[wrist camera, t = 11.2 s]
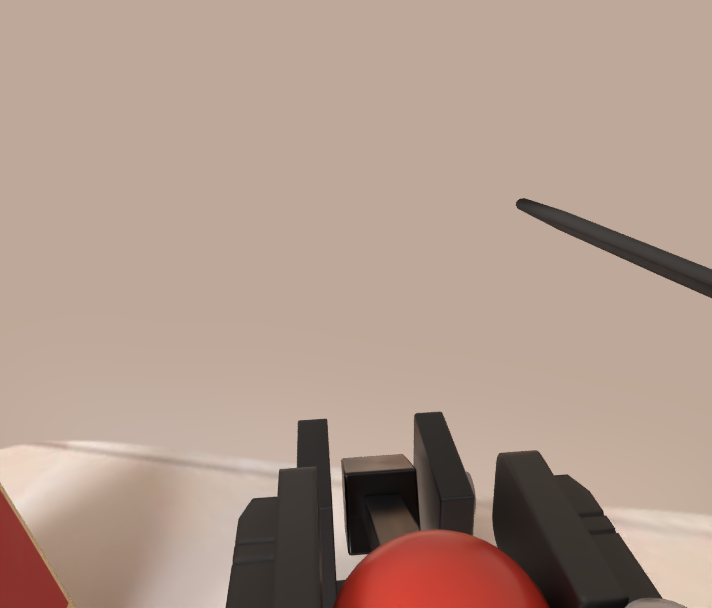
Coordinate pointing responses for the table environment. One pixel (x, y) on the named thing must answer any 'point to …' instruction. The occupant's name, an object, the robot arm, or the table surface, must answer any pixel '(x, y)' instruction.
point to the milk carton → (25, 565)
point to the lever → (418, 549)
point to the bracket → (434, 478)
